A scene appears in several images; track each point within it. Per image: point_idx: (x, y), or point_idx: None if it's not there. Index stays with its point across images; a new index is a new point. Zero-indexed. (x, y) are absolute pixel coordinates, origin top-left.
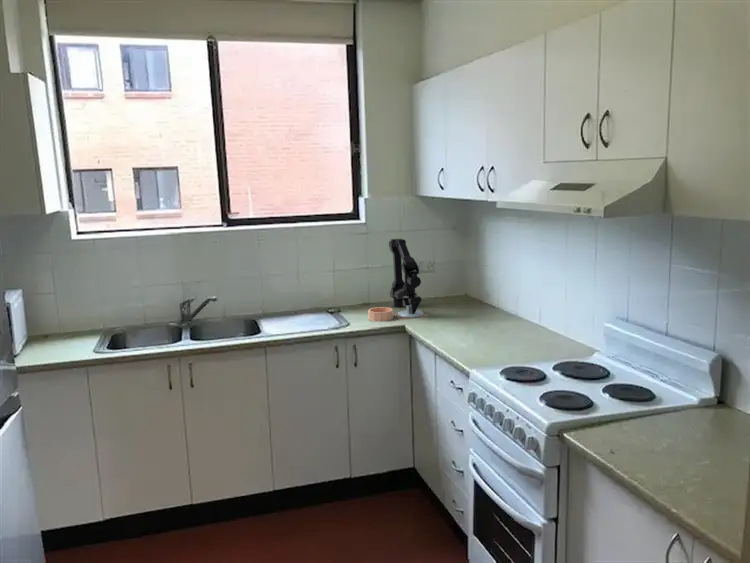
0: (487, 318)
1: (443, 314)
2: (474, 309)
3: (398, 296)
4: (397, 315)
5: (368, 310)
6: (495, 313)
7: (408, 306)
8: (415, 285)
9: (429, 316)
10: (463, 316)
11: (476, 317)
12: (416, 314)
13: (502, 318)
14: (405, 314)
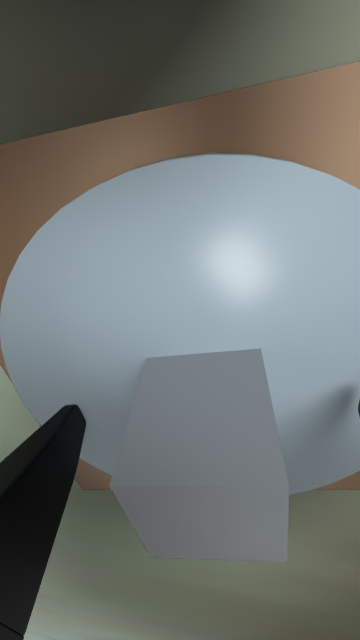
0: (55, 609)
1: None
2: (250, 632)
3: None
4: (243, 142)
5: None
6: (143, 637)
7: (152, 493)
8: None
9: (86, 488)
10: (106, 583)
11: (77, 599)
12: (103, 430)
13: (54, 625)
14: (128, 306)
